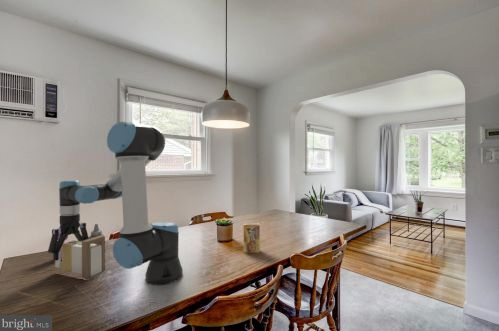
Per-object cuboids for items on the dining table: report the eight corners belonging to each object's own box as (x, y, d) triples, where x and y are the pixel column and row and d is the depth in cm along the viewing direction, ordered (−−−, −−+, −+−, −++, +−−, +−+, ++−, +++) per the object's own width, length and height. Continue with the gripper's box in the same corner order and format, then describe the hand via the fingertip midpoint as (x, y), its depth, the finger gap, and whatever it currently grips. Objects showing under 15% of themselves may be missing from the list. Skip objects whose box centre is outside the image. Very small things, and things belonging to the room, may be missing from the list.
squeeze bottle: (103, 255, 128) (103, 221, 128) (107, 259, 122) (107, 224, 122) (85, 259, 122) (85, 224, 122) (88, 264, 117) (88, 227, 116)
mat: (111, 269, 110) (111, 269, 110) (86, 282, 99) (86, 281, 99) (75, 262, 118) (75, 261, 118) (47, 273, 107) (47, 272, 107)
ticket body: (105, 270, 109) (104, 236, 109) (86, 278, 101) (86, 241, 101) (86, 266, 113) (86, 233, 113) (67, 274, 105) (67, 238, 105)
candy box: (259, 250, 136) (259, 223, 136) (259, 252, 131) (259, 225, 131) (243, 250, 135) (243, 223, 135) (243, 253, 131) (243, 225, 131)
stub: (82, 267, 112) (82, 241, 112) (71, 271, 107) (70, 244, 107) (73, 265, 114) (73, 239, 114) (61, 269, 109) (61, 243, 109)
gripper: (87, 209, 122) (87, 252, 122) (36, 218, 101) (36, 271, 101) (98, 210, 120) (98, 254, 120) (48, 220, 99) (48, 274, 99)
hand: (70, 262), depth 111 cm, fingers open, 9 cm apart
